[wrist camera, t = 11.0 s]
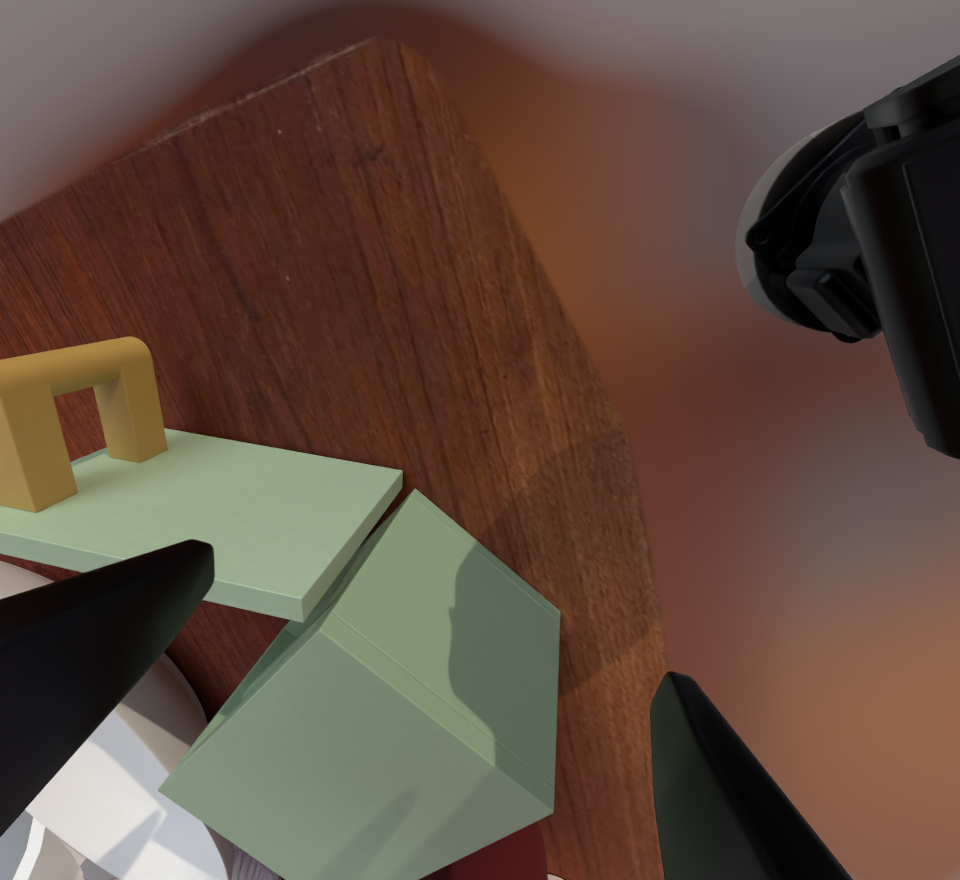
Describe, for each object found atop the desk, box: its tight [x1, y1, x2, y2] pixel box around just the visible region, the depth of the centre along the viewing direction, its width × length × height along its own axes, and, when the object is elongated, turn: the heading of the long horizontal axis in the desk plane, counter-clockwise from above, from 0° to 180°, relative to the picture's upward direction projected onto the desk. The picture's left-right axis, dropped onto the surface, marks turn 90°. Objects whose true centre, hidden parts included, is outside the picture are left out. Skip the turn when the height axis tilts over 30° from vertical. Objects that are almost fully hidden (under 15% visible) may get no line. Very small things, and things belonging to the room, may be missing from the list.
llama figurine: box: [13, 817, 120, 880], centre depth 36 cm, size 2×11×18 cm
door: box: [0, 337, 403, 623], centre depth 18 cm, size 6×14×9 cm, turn 84°
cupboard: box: [158, 489, 561, 880], centre depth 22 cm, size 10×14×10 cm
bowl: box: [0, 561, 234, 880], centre depth 30 cm, size 30×15×6 cm, turn 26°
